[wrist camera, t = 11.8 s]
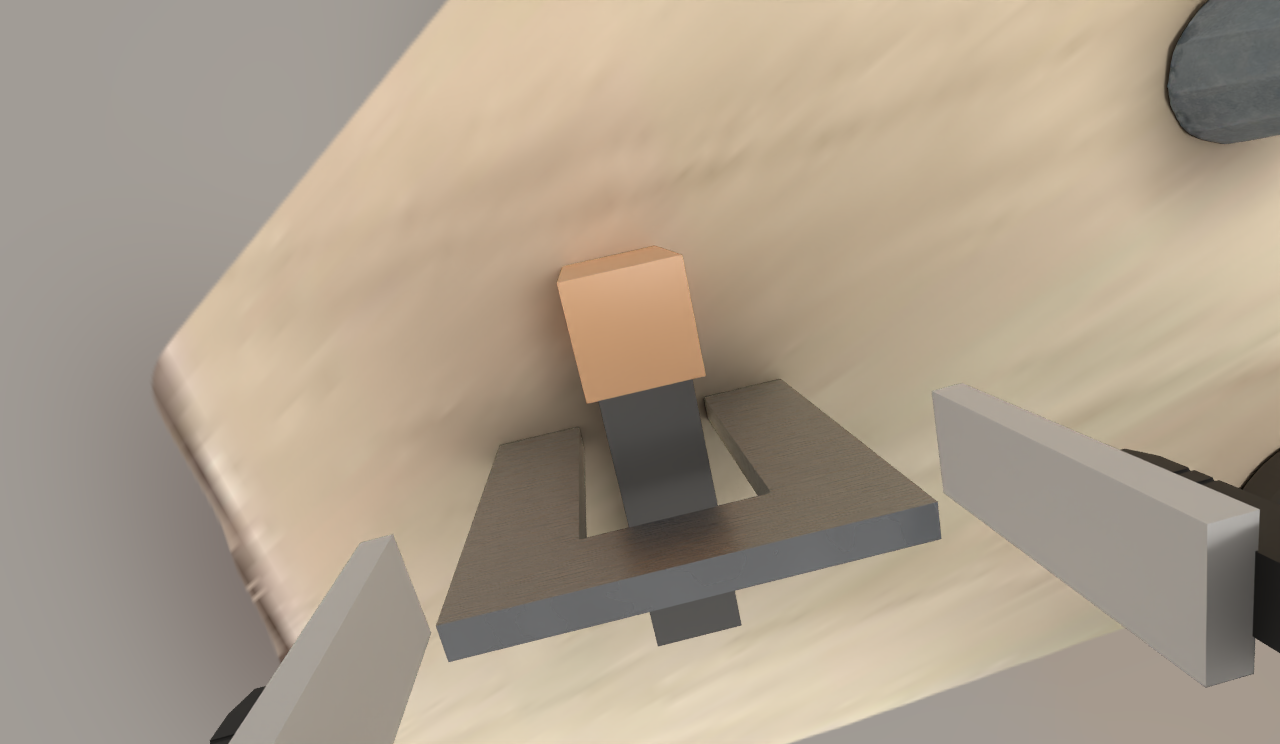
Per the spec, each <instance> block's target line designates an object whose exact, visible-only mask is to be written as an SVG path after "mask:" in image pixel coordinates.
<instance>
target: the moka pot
mask: <svg viewBox="0 0 1280 744" xmlns="http://www.w3.org/2000/svg"><path fill="white" fill-rule="evenodd" d="M1167 87H1168V89H1169V98H1170V105H1171V108H1172V110H1173V112H1174V113H1175V115H1176V119H1177V120H1178V121H1179V122H1180V125H1181V126H1182V127H1183V128H1184V130H1185V131H1187V132H1188V133H1189V134H1191V135H1193V136H1195V137H1197V138H1199V139H1203V140H1206V141H1211V142H1218V143H1222V144H1230V143H1236V142H1243V141H1249V140H1254V139H1260V138H1266V137H1271V136H1276V135H1280V0H1208V1H1207V2H1206V3H1205V4H1204V5H1203V6H1202V7H1201V8H1200V9H1199V11H1198V12H1197V13H1196V14H1195V16H1194V17H1193V19H1192V20H1191V21H1190V23H1189V24H1188V26H1187V27H1186V29H1185V30H1184V32H1183V33H1182V35H1181V38H1180V39H1179V40H1178V43H1177V45H1176V47H1175V50H1174V52H1173V56H1172V60H1171V65H1170V73H1169V82H1168V85H1167Z"/></svg>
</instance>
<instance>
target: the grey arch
mask: <svg viewBox="0 0 1280 744" xmlns="http://www.w3.org/2000/svg"><path fill="white" fill-rule="evenodd" d="M704 401H705V406H706V411H707V416H708V420H709V421H710V423H711V425H712V426H713V428H714V429H715V431H716V432H717V434H718V435H719V437H720V438H721V440H722V441H723V443H724V444H725V446H726V448H727V449H728V451H729V452H730V454H731V455H732V457H733V458H734V460H735V461H736V463H737V464H738V466H739V468H740V469H741V471H742V472H743V474H744V475H745V477H746V478H747V480H748V481H749V483H750V484H751V486H752V487H753V489H754V491H755V492H756V494H757V495H758V496H756V497H752V498H748V499H744V500H740V501H736V502H732V503H728V504H723V505H719V506H715V507H711V508H707V509H703V510H699V511H695V512H691V513H687V514H682V515H678V516H674V517H670V518H666V519H662V520H658V521H654V522H650V523H646V524H641V525H637V526H633V527H629V528H625V529H621V530H617V531H613V532H609V533H605V534H600V535H596V536H592V537H588V538H587V531H586V490H585V449H584V445H583V441H582V437H581V433H580V429H579V427H575V428H571V429H567V430H563V431H558V432H554V433H550V434H546V435H541V436H537V437H533V438H529V439H524V440H520V441H516V442H512V443H507V444H503V445H500V446H499V449H498V452H497V455H496V457H495V460H494V463H493V466H492V469H491V472H490V474H489V477H488V480H487V483H486V486H485V488H484V491H483V494H482V497H481V500H480V503H479V505H478V508H477V511H476V514H475V517H474V520H473V522H472V525H471V528H470V531H469V534H468V537H467V539H466V542H465V545H464V548H463V551H462V554H461V556H460V559H459V562H458V565H457V568H456V571H455V573H454V576H453V579H452V582H451V585H450V588H449V590H448V593H447V596H446V599H445V602H444V605H443V607H442V610H441V613H440V616H439V619H438V622H437V624H436V627H437V630H438V633H439V636H440V639H441V642H442V645H443V647H444V650H445V653H446V656H447V659H448V662H451V661H455V660H459V659H463V658H467V657H471V656H475V655H479V654H483V653H487V652H491V651H495V650H499V649H503V648H507V647H511V646H515V645H519V644H523V643H527V642H531V641H535V640H539V639H543V638H547V637H551V636H555V635H559V634H563V633H567V632H571V631H575V630H579V629H583V628H587V627H591V626H595V625H599V624H603V623H607V622H611V621H615V620H619V619H623V618H627V617H631V616H635V615H639V614H643V613H647V612H651V611H655V610H659V609H663V608H667V607H671V606H675V605H679V604H683V603H687V602H691V601H695V600H699V599H703V598H707V597H711V596H715V595H719V594H723V593H727V592H731V591H735V590H739V589H743V588H747V587H751V586H755V585H759V584H763V583H767V582H771V581H775V580H779V579H783V578H787V577H791V576H795V575H799V574H803V573H807V572H811V571H815V570H819V569H823V568H827V567H831V566H835V565H839V564H843V563H847V562H851V561H855V560H859V559H863V558H867V557H871V556H875V555H879V554H883V553H887V552H891V551H895V550H899V549H903V548H907V547H911V546H915V545H919V544H923V543H927V542H931V541H935V540H939V539H941V531H940V521H939V510H938V502H937V501H936V500H935V499H933V498H932V497H931V496H930V495H928V494H927V493H926V492H924V491H923V490H922V489H921V488H919V487H918V486H917V485H916V484H914V483H913V482H912V481H910V480H909V479H908V478H907V477H905V476H904V475H903V474H901V473H900V472H899V471H898V470H896V469H895V468H894V467H893V466H891V465H890V464H889V463H887V462H886V461H885V460H884V459H882V458H881V457H880V456H878V455H877V454H876V453H875V452H873V451H872V450H871V449H870V448H868V447H867V446H866V445H864V444H863V443H862V442H861V441H859V440H858V439H857V438H855V437H854V436H853V435H852V434H850V433H849V432H848V431H847V430H845V429H844V428H843V427H841V426H840V425H839V424H838V423H836V422H835V421H834V420H833V419H831V418H830V417H829V416H827V415H826V414H825V413H824V412H822V411H821V410H820V409H818V408H817V407H816V406H815V405H813V404H812V403H811V402H810V401H808V400H807V399H806V398H804V397H803V396H802V395H801V394H799V393H798V392H797V391H795V390H794V389H793V388H792V387H790V386H789V385H788V384H787V383H785V382H784V381H783V380H781V379H778V380H774V381H770V382H766V383H761V384H757V385H753V386H749V387H745V388H740V389H736V390H732V391H728V392H723V393H719V394H715V395H711V396H706V397H704Z"/></svg>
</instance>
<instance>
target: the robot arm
mask: <svg viewBox="0 0 1280 744" xmlns="http://www.w3.org/2000/svg"><path fill="white" fill-rule="evenodd" d="M932 397H933V405H934V414H935V423H936V431H937V440H938V449H939V457H940V466H941V474H942V483H943V492H944V493H945V494H946V495H947V496H949V497H950V498H951V499H953V500H954V501H955V502H957V503H958V504H959V505H961V506H962V507H963V508H965V509H966V510H967V511H969V512H970V513H971V514H973V515H974V516H975V517H977V518H978V519H979V520H981V521H982V522H984V523H985V524H986V525H988V526H989V527H990V528H992V529H993V530H994V531H996V532H997V533H998V534H1000V535H1001V536H1002V537H1004V538H1005V539H1006V540H1008V541H1009V542H1010V543H1012V544H1013V545H1014V546H1016V547H1017V548H1018V549H1020V550H1021V551H1023V552H1024V553H1025V554H1027V555H1028V556H1029V557H1031V558H1032V559H1033V560H1035V561H1036V562H1037V563H1039V564H1040V565H1041V566H1043V567H1044V568H1045V569H1047V570H1048V571H1049V572H1051V573H1052V574H1053V575H1055V576H1056V577H1057V578H1059V579H1060V580H1062V581H1063V582H1064V583H1066V584H1067V585H1068V586H1070V587H1071V588H1072V589H1074V590H1075V591H1076V592H1078V593H1079V594H1080V595H1082V596H1083V597H1084V598H1086V599H1087V600H1088V601H1090V602H1091V603H1092V604H1094V605H1095V606H1096V607H1098V608H1099V609H1101V610H1102V611H1103V612H1105V613H1106V614H1107V615H1109V616H1110V617H1111V618H1113V619H1114V620H1115V621H1117V622H1118V623H1119V624H1121V625H1122V626H1123V627H1125V628H1126V629H1127V630H1129V631H1130V632H1132V633H1133V634H1134V635H1136V636H1137V637H1138V638H1140V639H1141V640H1142V641H1144V642H1145V643H1146V644H1148V645H1149V646H1150V647H1152V648H1153V649H1154V650H1156V651H1157V652H1158V653H1160V654H1161V655H1163V656H1164V657H1165V658H1166V659H1168V660H1169V661H1170V662H1172V663H1173V664H1175V665H1176V666H1177V667H1179V668H1180V669H1181V670H1183V671H1184V672H1185V673H1187V674H1188V675H1189V676H1191V677H1192V678H1193V679H1195V680H1196V681H1197V682H1199V683H1200V684H1201V685H1203V686H1204V687H1210V686H1213V685H1217V684H1220V683H1223V682H1227V681H1230V680H1234V679H1237V678H1241V677H1244V676H1247V675H1251V674H1254V656H1255V638H1256V639H1258V640H1260V641H1261V642H1263V643H1264V644H1266V645H1268V646H1269V647H1271V648H1273V649H1274V650H1276V651H1277V652H1279V653H1280V451H1279V452H1278V453H1276V454H1275V455H1274V456H1273V457H1271V458H1270V459H1269V460H1268V461H1267V462H1266V463H1265V464H1264V465H1263V466H1262V467H1261V468H1260V469H1259V470H1258V471H1257V472H1256V473H1255V474H1254V475H1253V476H1252V478H1251V479H1250V480H1249V481H1248V483H1247V484H1246V485H1245V487H1244V488H1243V490H1242V489H1239V488H1237V487H1234V486H1232V485H1230V484H1227V483H1225V482H1222V481H1220V480H1218V481H1214V480H1213V478H1212V477H1210V476H1207V475H1205V474H1203V473H1200V472H1198V471H1195V470H1193V471H1190V470H1189V468H1188V467H1185V466H1183V465H1180V464H1178V463H1175V462H1173V461H1171V460H1168V459H1166V458H1163V457H1161V456H1157V455H1152V454H1147V453H1143V452H1138V451H1133V450H1128V449H1122V450H1119V449H1116V448H1114V447H1112V446H1109V445H1107V444H1105V443H1102V442H1100V441H1097V440H1095V439H1093V438H1090V437H1088V436H1086V435H1083V434H1081V433H1079V432H1076V431H1074V430H1072V429H1069V428H1067V427H1065V426H1062V425H1060V424H1058V423H1055V422H1053V421H1050V420H1048V419H1046V418H1043V417H1041V416H1039V415H1036V414H1034V413H1032V412H1029V411H1027V410H1025V409H1022V408H1020V407H1018V406H1015V405H1013V404H1010V403H1008V402H1006V401H1003V400H1001V399H999V398H996V397H994V396H992V395H989V394H987V393H985V392H982V391H980V390H978V389H975V388H973V387H971V386H968V385H966V384H963V383H960V384H956V385H952V386H948V387H945V388H941V389H937V390H933V391H932ZM430 635H431V631H430V628H429V626H428V623H427V621H426V618H425V616H424V613H423V610H422V608H421V605H420V603H419V600H418V597H417V595H416V592H415V590H414V587H413V585H412V582H411V579H410V577H409V574H408V572H407V569H406V566H405V564H404V561H403V559H402V556H401V554H400V551H399V548H398V546H397V543H396V541H395V538H394V535H393V534H391V535H388V536H384V537H380V538H376V539H373V540H369V541H365V542H361V543H360V544H359V545H358V547H357V548H356V550H355V552H354V553H353V555H352V556H351V558H350V559H349V561H348V562H347V564H346V565H345V567H344V568H343V570H342V571H341V573H340V574H339V576H338V577H337V579H336V580H335V582H334V584H333V585H332V587H331V588H330V590H329V591H328V593H327V594H326V596H325V597H324V599H323V600H322V602H321V603H320V605H319V606H318V608H317V609H316V611H315V613H314V614H313V616H312V617H311V619H310V620H309V622H308V623H307V625H306V626H305V628H304V629H303V631H302V632H301V634H300V635H299V637H298V638H297V640H296V642H295V643H294V645H293V646H292V648H291V649H290V651H289V652H288V654H287V655H286V657H285V658H284V660H283V661H282V663H281V664H280V666H279V668H278V669H277V671H276V672H275V674H274V675H273V677H272V678H271V680H270V681H269V683H268V684H267V686H264V687H260V688H257V689H254V690H253V691H252V692H251V693H250V694H249V695H248V696H247V697H246V698H245V699H244V700H243V701H242V702H241V703H240V704H239V705H237V707H235V708H234V709H233V710H232V711H231V712H230V713H229V714H228V715H227V717H226V718H225V720H224V721H223V722H222V724H221V725H220V727H219V728H218V730H217V731H216V732H215V734H214V736H213V737H212V738H211V740H210V744H393V743H394V740H395V737H396V734H397V731H398V728H399V725H400V722H401V720H402V717H403V714H404V711H405V708H406V705H407V702H408V699H409V696H410V693H411V690H412V687H413V685H414V682H415V679H416V676H417V673H418V670H419V667H420V664H421V661H422V658H423V655H424V652H425V649H426V647H427V644H428V641H429V638H430Z"/></svg>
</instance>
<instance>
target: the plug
mask: <svg viewBox="0 0 1280 744" xmlns="http://www.w3.org/2000/svg"><path fill="white" fill-rule="evenodd" d="M557 287H558V291H559V295H560V299H561V303H562V307H563V311H564V315H565V319H566V323H567V327H568V331H569V335H570V339H571V343H572V347H573V351H574V355H575V359H576V363H577V367H578V371H579V375H580V379H581V383H582V387H583V391H584V395H585V399H586V403H587V404H588V403H592V402H597V401H598V402H599V406H600V410H601V414H602V418H603V422H604V426H605V430H606V434H607V439H608V443H609V447H610V451H611V455H612V459H613V463H614V467H615V471H616V476H617V480H618V484H619V488H620V492H621V496H622V500H623V504H624V508H625V513H626V517H627V521H628V525H629V527H633V526H637V525H641V524H646V523H650V522H654V521H658V520H662V519H666V518H670V517H674V516H678V515H682V514H687V513H691V512H695V511H699V510H703V509H707V508H711V507H715V506H718V505H717V500H716V495H715V490H714V485H713V480H712V475H711V470H710V465H709V460H708V455H707V450H706V445H705V440H704V435H703V430H702V425H701V420H700V415H699V410H698V405H697V400H696V395H695V390H694V385H693V380H692V379H695V378H699V377H703V376H706V374H705V369H704V364H703V359H702V354H701V348H700V343H699V338H698V333H697V328H696V323H695V317H694V312H693V307H692V302H691V297H690V292H689V286H688V281H687V276H686V271H685V266H684V261H683V256H682V254H679V253H675V252H672V251H669V250H666V249H663V248H660V247H657V246H651V247H646V248H642V249H637V250H633V251H629V252H624V253H620V254H615V255H611V256H606V257H602V258H597V259H593V260H589V261H584V262H580V263H575V264H571V265H566V266H563V267H562V269H561V272H560V275H559V278H558V281H557ZM650 615H651V619H652V624H653V628H654V632H655V636H656V640H657V644H658V646H662V645H666V644H670V643H673V642H677V641H681V640H685V639H689V638H693V637H697V636H701V635H705V634H709V633H713V632H717V631H721V630H725V629H729V628H733V627H737V626H741V620H740V615H739V610H738V605H737V600H736V595H735V591H731V592H727V593H723V594H719V595H715V596H711V597H707V598H703V599H699V600H695V601H691V602H687V603H683V604H679V605H675V606H671V607H667V608H663V609H659V610H655V611H651V612H650Z"/></svg>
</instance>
